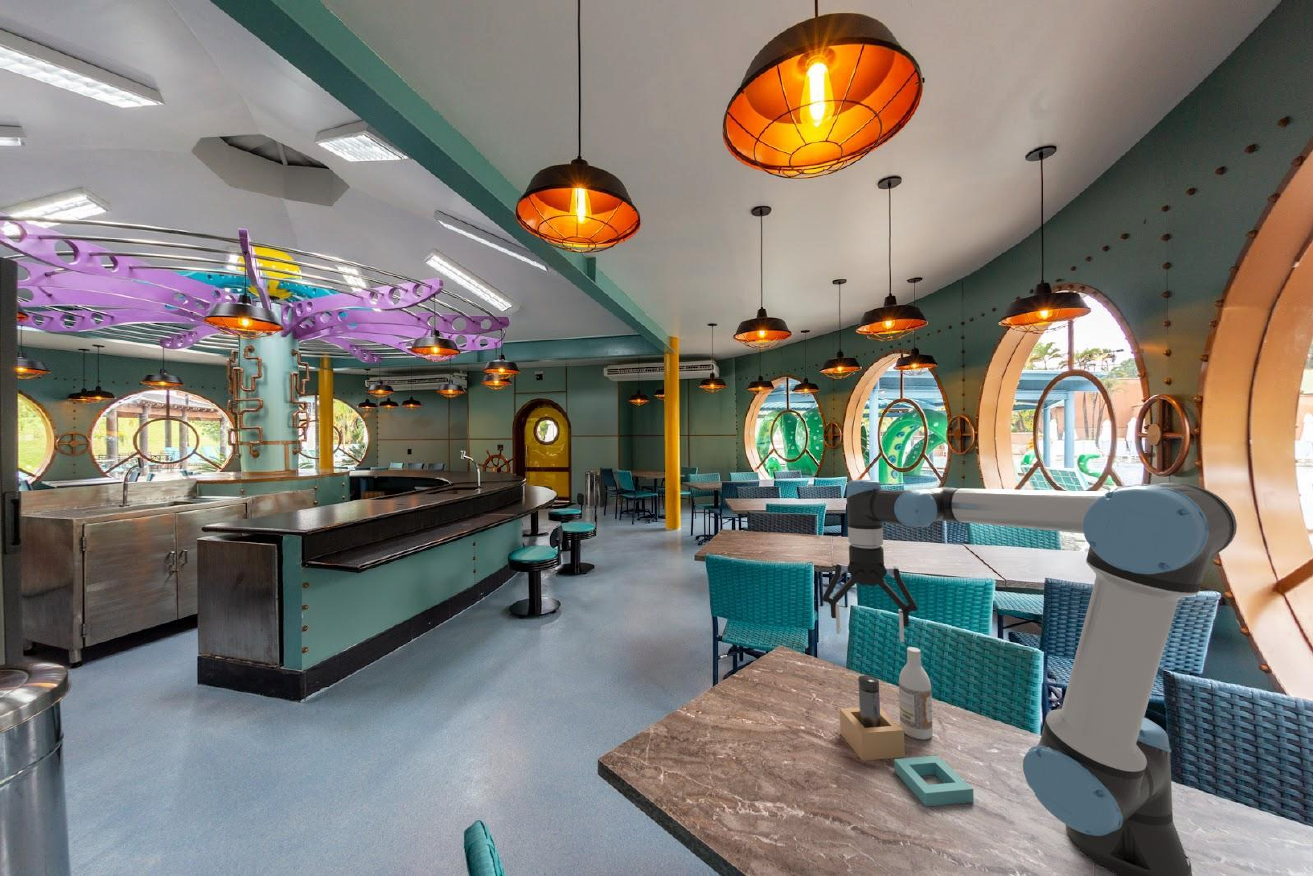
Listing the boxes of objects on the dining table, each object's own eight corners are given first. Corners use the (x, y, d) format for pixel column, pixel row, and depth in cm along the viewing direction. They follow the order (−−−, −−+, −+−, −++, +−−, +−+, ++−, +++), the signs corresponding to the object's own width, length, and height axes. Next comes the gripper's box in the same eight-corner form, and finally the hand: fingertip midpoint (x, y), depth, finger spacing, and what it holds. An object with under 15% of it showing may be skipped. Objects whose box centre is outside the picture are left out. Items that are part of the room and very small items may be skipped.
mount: (973, 802, 91) (973, 789, 91) (925, 806, 90) (925, 793, 90) (938, 767, 101) (937, 755, 101) (894, 771, 100) (894, 759, 100)
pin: (885, 745, 107) (882, 683, 107) (867, 747, 106) (864, 684, 107) (874, 734, 111) (872, 674, 112) (857, 735, 111) (854, 675, 111)
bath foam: (927, 744, 108) (924, 658, 109) (896, 732, 113) (893, 649, 114) (936, 732, 113) (933, 649, 114) (905, 720, 118) (903, 641, 119)
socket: (904, 757, 104) (904, 730, 104) (862, 760, 103) (861, 733, 103) (879, 730, 114) (878, 706, 114) (840, 733, 113) (839, 708, 113)
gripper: (924, 545, 108) (928, 637, 107) (812, 539, 119) (815, 623, 118) (927, 551, 101) (932, 650, 101) (809, 544, 112) (812, 634, 111)
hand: (869, 636), depth 109 cm, fingers open, 13 cm apart
